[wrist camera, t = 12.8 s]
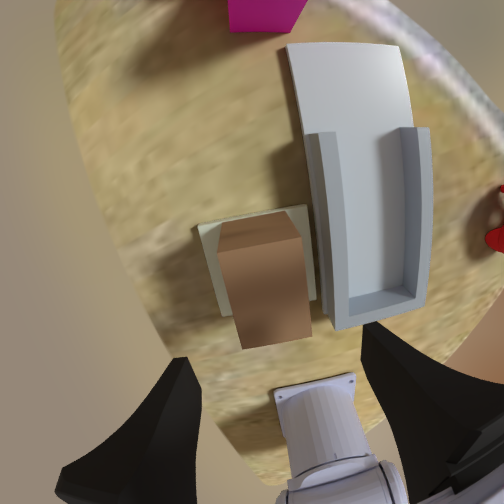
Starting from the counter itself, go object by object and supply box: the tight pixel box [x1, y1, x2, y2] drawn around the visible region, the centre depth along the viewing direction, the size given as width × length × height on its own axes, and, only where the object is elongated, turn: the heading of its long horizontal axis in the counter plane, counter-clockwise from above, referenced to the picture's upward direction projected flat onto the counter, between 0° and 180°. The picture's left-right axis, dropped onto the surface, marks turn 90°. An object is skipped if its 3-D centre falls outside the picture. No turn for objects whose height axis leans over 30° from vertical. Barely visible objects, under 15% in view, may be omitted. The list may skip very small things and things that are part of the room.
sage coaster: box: [198, 204, 317, 317], centre depth 20 cm, size 7×7×1 cm
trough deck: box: [285, 42, 433, 331], centre depth 17 cm, size 19×8×3 cm, turn 10°
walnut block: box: [217, 211, 312, 349], centre depth 17 cm, size 6×4×5 cm, turn 11°
